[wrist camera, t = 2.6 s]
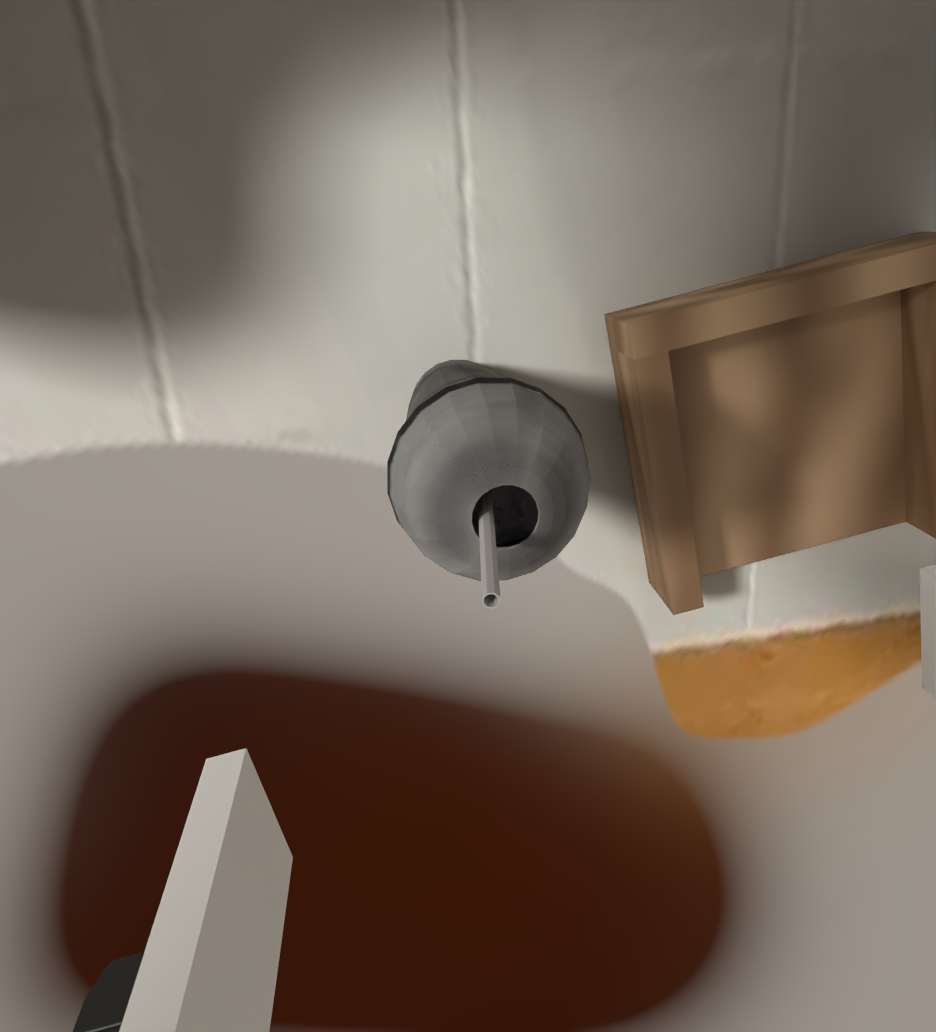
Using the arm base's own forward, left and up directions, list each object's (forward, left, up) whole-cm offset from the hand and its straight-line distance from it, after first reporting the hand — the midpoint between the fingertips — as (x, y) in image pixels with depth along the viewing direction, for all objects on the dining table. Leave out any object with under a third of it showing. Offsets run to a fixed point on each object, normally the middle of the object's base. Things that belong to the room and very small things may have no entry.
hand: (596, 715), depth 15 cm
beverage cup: (0, 0, -26) cm, 26 cm away
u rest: (+16, -5, -26) cm, 31 cm away
